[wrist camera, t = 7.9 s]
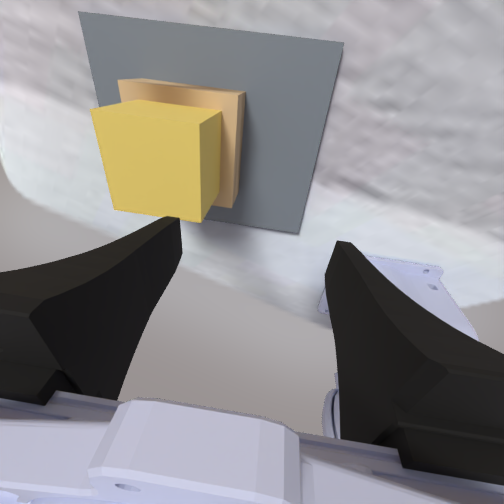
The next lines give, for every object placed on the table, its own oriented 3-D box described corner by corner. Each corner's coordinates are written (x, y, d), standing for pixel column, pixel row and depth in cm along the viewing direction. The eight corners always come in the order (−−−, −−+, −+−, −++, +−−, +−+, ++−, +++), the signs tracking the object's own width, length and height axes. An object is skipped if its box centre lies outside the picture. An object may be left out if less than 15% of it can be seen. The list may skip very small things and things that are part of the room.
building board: (342, 43, 15) (344, 42, 15) (297, 229, 23) (298, 233, 22) (84, 13, 16) (78, 11, 15) (124, 204, 24) (121, 206, 23)
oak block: (245, 91, 17) (238, 95, 14) (238, 192, 21) (231, 208, 18) (142, 78, 17) (117, 79, 15) (155, 180, 21) (137, 194, 19)
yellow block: (221, 110, 15) (199, 124, 11) (219, 191, 18) (201, 222, 14) (138, 99, 15) (89, 109, 11) (149, 181, 18) (114, 209, 14)
